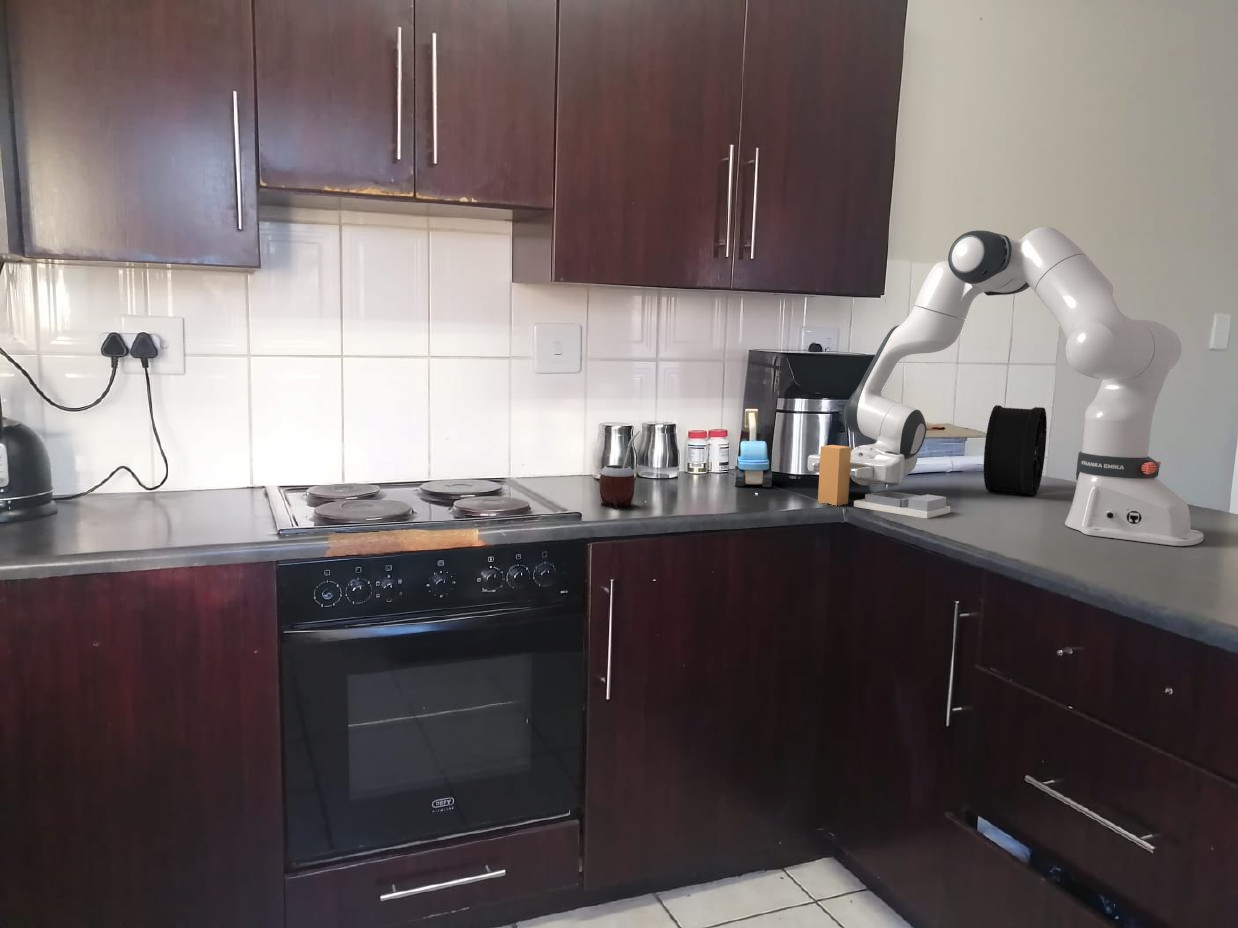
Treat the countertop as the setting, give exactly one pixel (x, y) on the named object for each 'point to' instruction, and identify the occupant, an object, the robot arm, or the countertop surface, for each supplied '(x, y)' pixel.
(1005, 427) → the car wheel rim
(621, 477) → the mate gourd
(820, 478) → the tall tan wooden block
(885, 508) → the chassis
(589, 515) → the countertop surface
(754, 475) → the toy excavator
